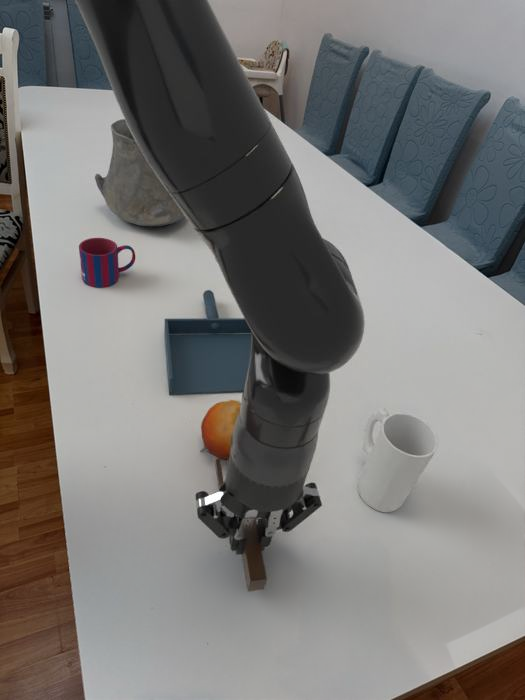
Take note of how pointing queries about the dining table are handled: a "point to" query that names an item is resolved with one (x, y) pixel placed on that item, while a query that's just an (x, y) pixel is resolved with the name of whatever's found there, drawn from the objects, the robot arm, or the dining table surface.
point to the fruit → (220, 428)
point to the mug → (394, 458)
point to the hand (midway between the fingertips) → (248, 545)
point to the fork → (249, 550)
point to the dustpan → (207, 352)
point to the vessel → (135, 184)
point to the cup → (101, 261)
